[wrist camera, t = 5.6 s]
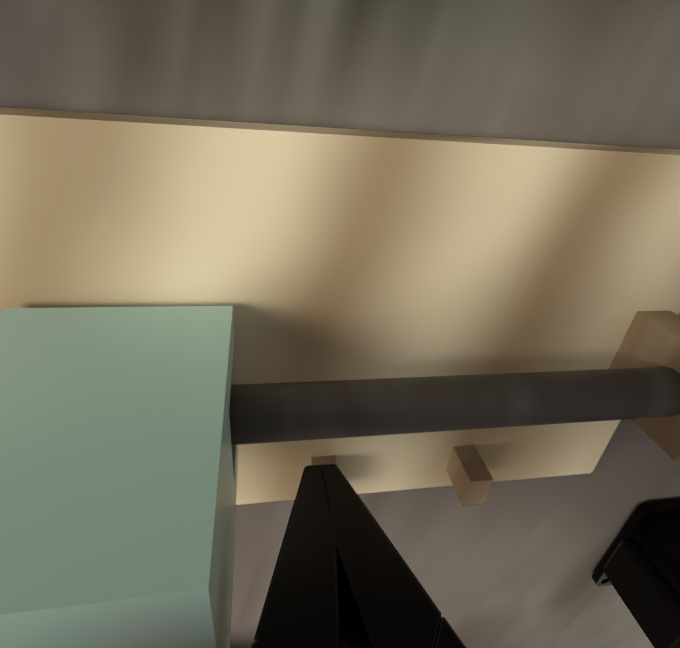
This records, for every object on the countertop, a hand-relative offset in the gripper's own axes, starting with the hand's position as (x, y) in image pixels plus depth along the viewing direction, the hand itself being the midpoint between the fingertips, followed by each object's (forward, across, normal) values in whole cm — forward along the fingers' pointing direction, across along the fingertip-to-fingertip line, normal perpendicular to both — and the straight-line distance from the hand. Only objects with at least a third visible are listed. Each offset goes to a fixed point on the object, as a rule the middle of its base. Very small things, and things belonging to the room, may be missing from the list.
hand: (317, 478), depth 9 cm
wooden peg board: (+5, -1, 0) cm, 5 cm away
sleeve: (+4, +4, 0) cm, 6 cm away
